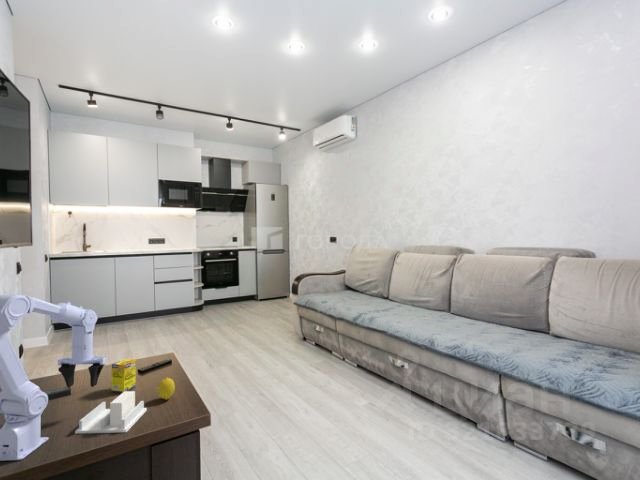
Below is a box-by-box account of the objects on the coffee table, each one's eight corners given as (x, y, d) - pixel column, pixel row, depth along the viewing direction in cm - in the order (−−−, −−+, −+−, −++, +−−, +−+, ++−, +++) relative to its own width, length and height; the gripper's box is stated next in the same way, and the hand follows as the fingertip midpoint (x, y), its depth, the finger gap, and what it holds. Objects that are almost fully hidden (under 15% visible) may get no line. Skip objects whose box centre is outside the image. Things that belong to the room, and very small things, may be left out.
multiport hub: (71, 395, 123) (71, 389, 123) (32, 405, 116) (32, 398, 116) (70, 391, 127) (70, 385, 127) (32, 400, 119) (32, 394, 119)
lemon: (154, 401, 119) (154, 378, 119) (168, 394, 123) (168, 373, 124) (164, 404, 116) (164, 382, 116) (178, 398, 121) (178, 376, 121)
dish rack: (126, 432, 99) (126, 420, 99) (75, 433, 98) (75, 421, 98) (146, 410, 112) (146, 400, 112) (101, 411, 111) (101, 401, 111)
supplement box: (124, 393, 124) (124, 365, 124) (110, 392, 125) (111, 363, 125) (136, 387, 130) (136, 359, 130) (123, 385, 131) (123, 358, 131)
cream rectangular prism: (134, 412, 109) (135, 391, 109) (121, 425, 101) (121, 402, 101) (124, 412, 109) (124, 391, 109) (109, 425, 101) (110, 403, 101)
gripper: (111, 341, 114) (111, 380, 114) (68, 341, 113) (68, 381, 113) (99, 347, 107) (98, 389, 107) (53, 348, 106) (52, 390, 106)
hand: (82, 385), depth 110 cm, fingers open, 7 cm apart
